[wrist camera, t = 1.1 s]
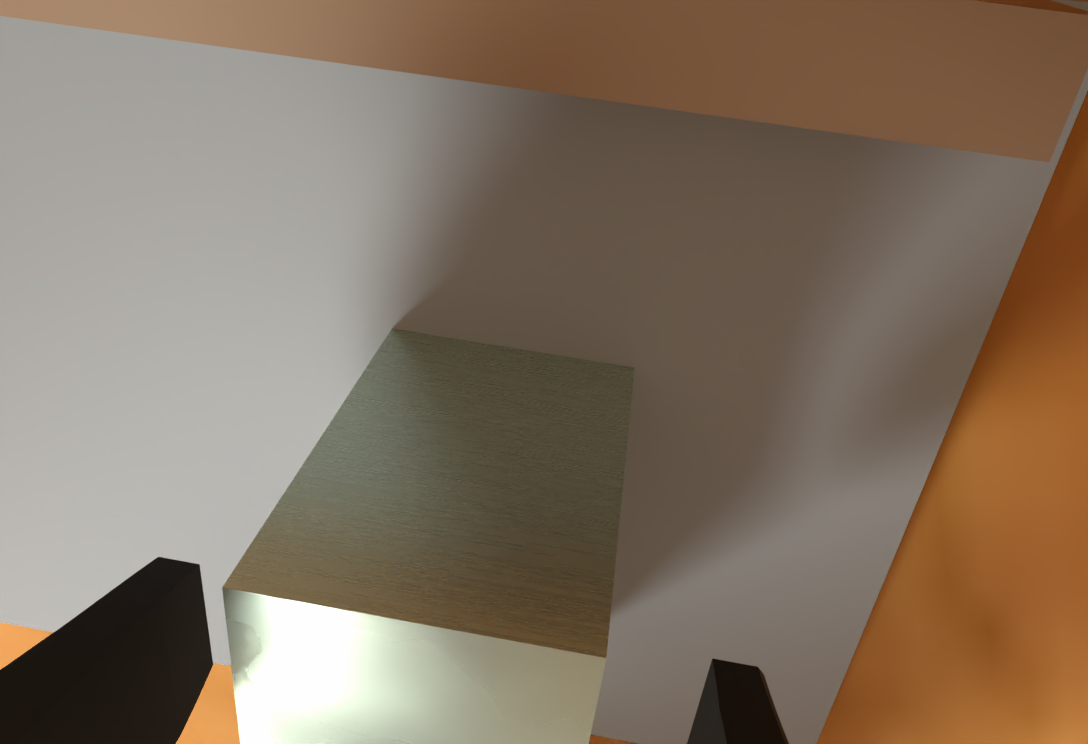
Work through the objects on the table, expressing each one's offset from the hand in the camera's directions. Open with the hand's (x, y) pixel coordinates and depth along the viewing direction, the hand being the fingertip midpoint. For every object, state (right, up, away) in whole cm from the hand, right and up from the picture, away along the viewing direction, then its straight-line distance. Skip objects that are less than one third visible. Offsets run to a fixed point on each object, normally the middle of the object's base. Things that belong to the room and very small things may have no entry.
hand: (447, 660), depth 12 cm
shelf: (-7, +5, +4) cm, 9 cm away
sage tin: (0, +2, +3) cm, 4 cm away
